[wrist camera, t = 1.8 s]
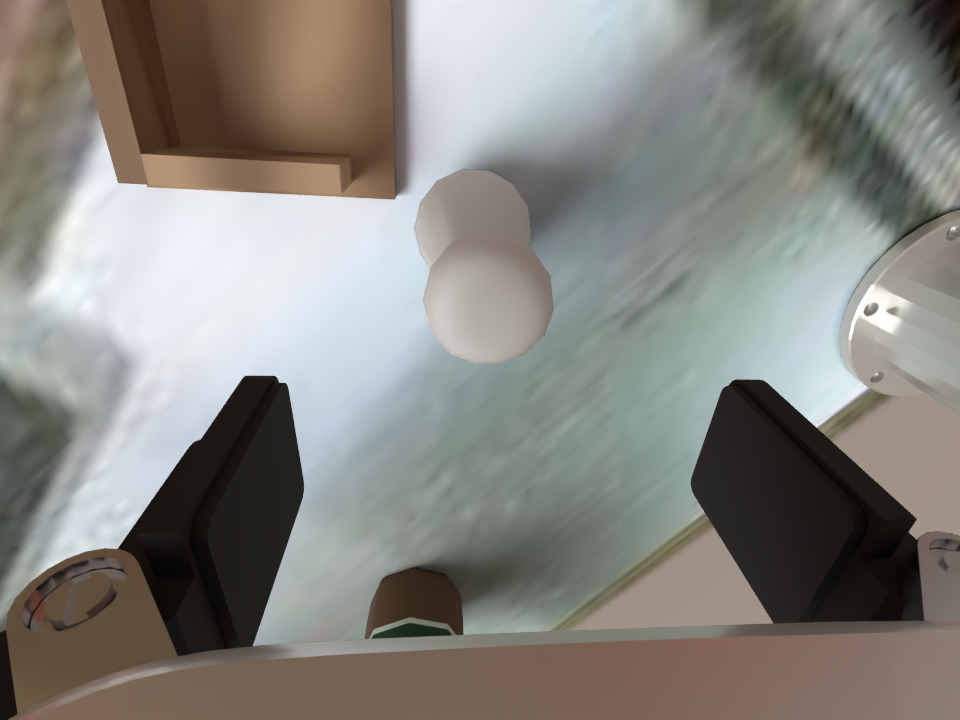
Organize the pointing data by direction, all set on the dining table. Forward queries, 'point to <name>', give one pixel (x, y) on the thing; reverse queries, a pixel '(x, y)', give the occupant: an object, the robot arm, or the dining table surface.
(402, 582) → the beer bottle
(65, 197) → the dining table surface
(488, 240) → the salt shaker
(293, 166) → the walnut U-rest
